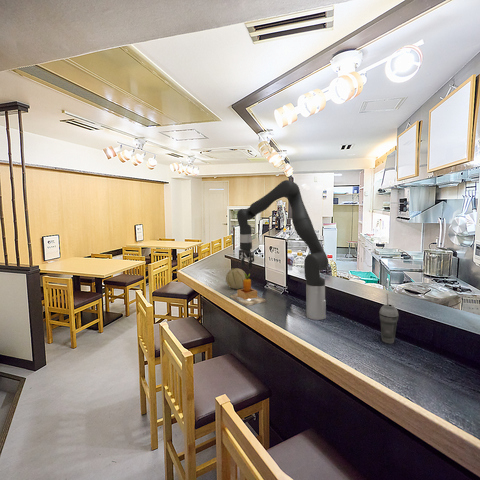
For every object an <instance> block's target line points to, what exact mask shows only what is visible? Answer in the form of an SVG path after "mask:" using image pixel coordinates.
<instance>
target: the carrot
mask: <svg viewBox="0 0 480 480" xmlns="http://www.w3.org/2000/svg"><path fill="white" fill-rule="evenodd" d="M250 277H251V273H248V275H247V273H245V278H246V279H244V280H243V287H242V288H243V289H244V292H245V293H246V292H250V290H251V288H252V279H250Z"/></svg>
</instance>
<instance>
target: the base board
mask: <svg viewBox="0 0 480 480" xmlns="http://www.w3.org/2000/svg"><path fill="white" fill-rule="evenodd" d="M257 296H258V295H257ZM229 298H230V299H232V300H235V301H236V302H237V303H239V304H241V305H243V306H245V307H248V306H249V307H250V306H252V305H257V304H260V303H261V304H262V303H266V302H267V300H266V299H265V298H263V297H260V296H258V298H257V299H256V300H252V301H242V300H239V299H237V293H236V294H235V293H234V294H232V295H229Z"/></svg>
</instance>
